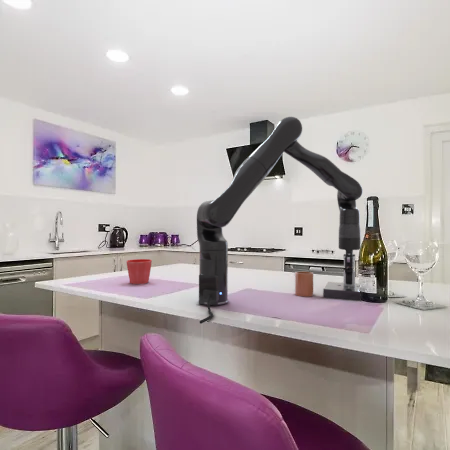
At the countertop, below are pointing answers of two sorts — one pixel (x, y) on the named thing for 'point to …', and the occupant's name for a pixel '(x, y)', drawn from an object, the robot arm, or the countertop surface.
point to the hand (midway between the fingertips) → (349, 282)
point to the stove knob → (352, 280)
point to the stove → (341, 291)
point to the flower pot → (139, 270)
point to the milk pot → (304, 283)
